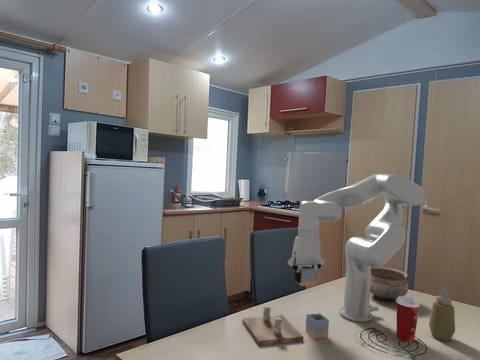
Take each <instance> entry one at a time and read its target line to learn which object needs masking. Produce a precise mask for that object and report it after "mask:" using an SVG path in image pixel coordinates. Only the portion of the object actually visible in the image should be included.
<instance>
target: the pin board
mask: <svg viewBox="0 0 480 360" xmlns="http://www.w3.org/2000/svg"><path fill="white" fill-rule="evenodd" d="M241 322H242V324H243V325H244V328H246V330H247V331H248V333H249V334H250V336H251V337H252V338H253V339H252V340H254V341H255V343H256V344H257V345H258V346H267V345H277V344H285V343H296V342H304V335H303V334H302V333H301V332H300V331H299V329H297V328H296V327H295V326H294V325H293V324H292V323H291V322H290V321H289V320H288V319H287V318H286V317H285V316H284V315H283V314H279V315H271V306H269V305H264V306H263V316H257V317H256V316H255V317H253V316H252V317H242V321H241Z"/></svg>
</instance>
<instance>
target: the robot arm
mask: <svg viewBox="0 0 480 360" xmlns="http://www.w3.org/2000/svg"><path fill="white" fill-rule="evenodd" d="M380 196H384V206H383V208H382V210H381V211H380V212H379V213H378V214H377V215H376V216H375V218H373V219H372V220H371V222H370V223H368V225H367V226H366V228H365V229H364V235H365V237H366V238H365V237H362V236H352V237H351V238H349V239H348V240H347V241H346V243H345V246H344V254H345V262H346V267H345V281H344V282H345V283H344V284H345V285H344V295H343V297H344V300H343V306H342V307H341V308H340V309H339V311H338V312H339V313H338V314H339V315H340V316H341V317H342V318H344V319H346V320H348V321H352V322H355V323H368V322H369V323H370V322H371V321H372V320H373V314H372V313H373V312H379V310H380V308H379V305H373V306H372V304H370V296H371V292H370V284H371V269H370V267H374V268H378V267H383V266H384V265H385V264H386V263H388V261H390V259H391V258H392V257H393V256H394V255H395V254H396V253H397V252H398V251H399V250H400V249H401V248H402V246H403V245H404V244H405V240H406V231H405V228H404V227H403V226H402V225H400V224H401V223H402V222H403V219H404V211H403V205H406V206H411V207H413V206H414V207H415V206H419V205H421V204H422V203H423V202H424V200H425V198H426V192H425V189H424V188H423V187H422V186H421V185H419V184H418V183H416V182H413V181H411V180H409V179H407V178H405V177H402V176H400V175H398V174H394V173H393V174H392V173H375V174H372V175H370V176H368V177H366V178H364V179H363V180H360V181H358V182H356V183H355V184H352V185H350V186H345V187H343V188H339V189H336V190H334V191H330V192H327V193H326V194H323V195H321V196H319V197H317V198H315V199H314V200H302V201H300V203H299V209H298V210H299V211H298V212H299V214H298V225H297V226H298V227H297V229H298V230H297V236H295V238H294V242H293V246H292V254H291V257H290V258H289V259H288V261H287V264H288V265H289V266H290V267H291V268H292V270H293V271H294V282H295V283H297V284H298V283H300V282H301V273H300V270H301V267H302V265H310V266H312V267H313V268H315V269H317V270H316V276H317V273H318V272H319V269H320V268H321V267H322V266H323V265H324V264H325V263H326V261H325V260H324V259H323V257H322V250H321V249H322V248H321V247H322V246H321V245H322V244H321V239H320V237H319V236H320V235H321V234H322V231H321V230H320V221H322V222H330V223H333V222H336V221H338V220H340V219H341V218H342V215H343V209H342V208H354V207H360V206H363V205H365V204H366V203H368V202H370V201H372V200H374V199H376V198H378V197H380ZM294 263H295V264H294Z"/></svg>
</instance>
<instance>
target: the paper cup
mask: <svg viewBox="0 0 480 360" xmlns="http://www.w3.org/2000/svg"><path fill="white" fill-rule="evenodd" d="M395 302H396V338H397V339H398V340H399V341H401V342H404V343H411V344H412V343H414V342H415V339H416V330H417V326H418V325H417V324H418V319H419V312H420V311H419V309H420V307H421V304H420V301H419V300H418V299H417V298H414V297H412V296H409V295H408V296H407V295H404V296H398V298H397V299H395Z"/></svg>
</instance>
